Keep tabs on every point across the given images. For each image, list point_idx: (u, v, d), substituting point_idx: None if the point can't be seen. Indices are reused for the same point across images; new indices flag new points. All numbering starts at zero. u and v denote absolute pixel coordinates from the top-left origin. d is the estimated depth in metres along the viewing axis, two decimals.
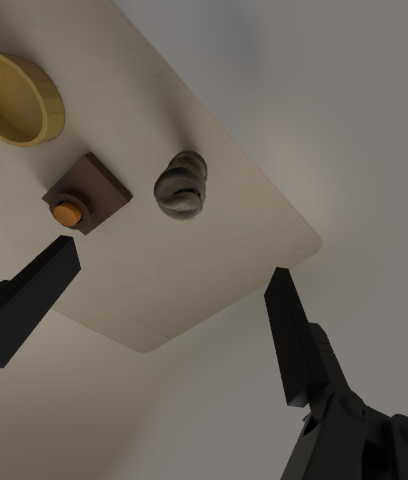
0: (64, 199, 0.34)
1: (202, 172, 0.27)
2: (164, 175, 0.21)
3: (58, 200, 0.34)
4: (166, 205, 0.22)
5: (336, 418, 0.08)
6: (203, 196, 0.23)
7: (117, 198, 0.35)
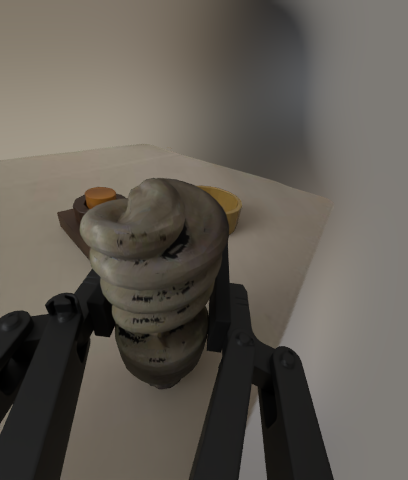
0: None
1: (175, 350, 0.11)
2: None
3: None
4: (148, 179, 0.09)
5: (232, 354, 0.09)
6: (160, 271, 0.07)
7: None
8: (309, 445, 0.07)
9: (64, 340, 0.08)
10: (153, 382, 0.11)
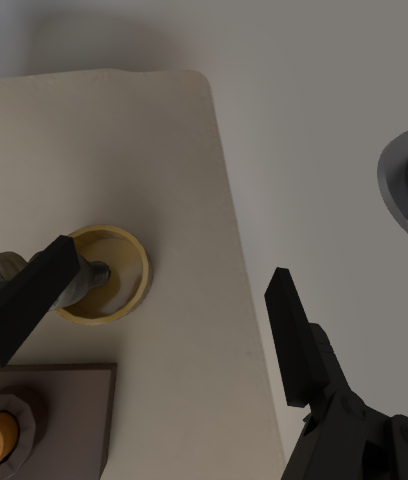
0: (14, 411, 0.19)
1: None
2: None
3: (3, 406, 0.19)
4: None
5: (336, 418, 0.08)
6: None
7: (88, 462, 0.20)
8: None
9: None
10: (78, 300, 0.20)
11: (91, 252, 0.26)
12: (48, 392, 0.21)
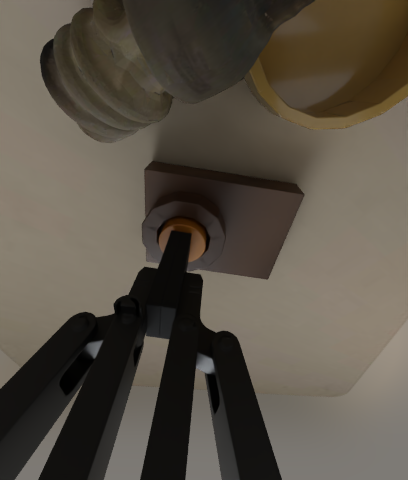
0: (202, 221, 0.16)
1: None
2: None
3: (190, 214, 0.16)
4: None
5: (176, 341, 0.09)
6: (98, 133, 0.13)
7: (260, 266, 0.20)
8: (248, 419, 0.07)
9: (125, 342, 0.09)
10: (220, 82, 0.09)
11: None
12: (226, 205, 0.17)
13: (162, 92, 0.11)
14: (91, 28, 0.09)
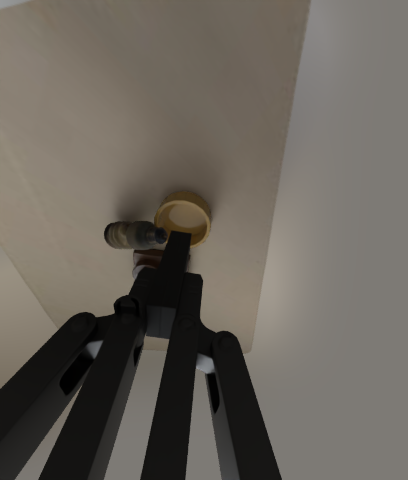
0: None
1: None
2: (105, 228, 0.41)
3: None
4: None
5: (176, 341, 0.09)
6: (118, 248, 0.43)
7: None
8: (248, 420, 0.07)
9: (125, 342, 0.09)
10: (147, 249, 0.39)
11: None
12: None
13: None
14: (118, 233, 0.39)
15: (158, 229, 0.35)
